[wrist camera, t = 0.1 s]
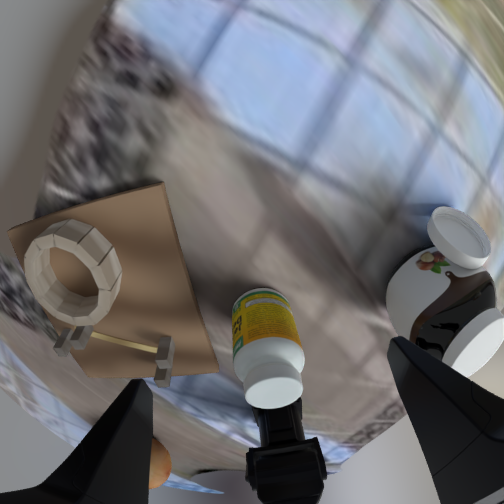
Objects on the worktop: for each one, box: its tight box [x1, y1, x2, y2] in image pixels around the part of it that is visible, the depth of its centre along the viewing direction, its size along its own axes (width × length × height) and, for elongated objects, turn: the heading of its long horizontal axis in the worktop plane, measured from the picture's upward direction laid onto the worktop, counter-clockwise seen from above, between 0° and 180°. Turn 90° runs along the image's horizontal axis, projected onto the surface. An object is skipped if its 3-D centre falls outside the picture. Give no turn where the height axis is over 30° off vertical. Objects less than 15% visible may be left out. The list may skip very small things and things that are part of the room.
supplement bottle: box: [232, 288, 305, 409], centre depth 22 cm, size 5×5×10 cm
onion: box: [149, 438, 172, 489], centre depth 34 cm, size 10×10×10 cm
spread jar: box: [386, 206, 504, 377], centre depth 20 cm, size 12×11×12 cm
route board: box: [7, 182, 219, 387], centre depth 23 cm, size 20×17×4 cm
